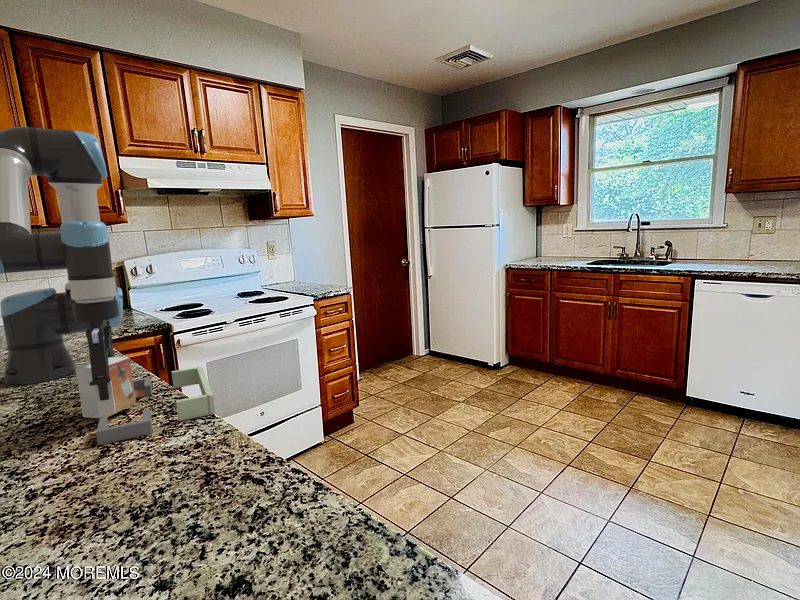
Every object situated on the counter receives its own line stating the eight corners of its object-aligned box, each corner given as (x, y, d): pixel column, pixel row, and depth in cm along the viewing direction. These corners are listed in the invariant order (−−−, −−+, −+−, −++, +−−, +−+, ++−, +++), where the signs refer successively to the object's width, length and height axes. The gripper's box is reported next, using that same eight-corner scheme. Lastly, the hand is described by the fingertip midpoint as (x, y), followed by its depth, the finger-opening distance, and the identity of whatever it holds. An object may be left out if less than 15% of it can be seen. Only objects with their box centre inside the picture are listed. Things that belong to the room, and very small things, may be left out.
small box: (105, 419, 86) (97, 368, 85) (82, 418, 88) (74, 367, 86) (137, 403, 94) (130, 356, 92) (115, 402, 95) (108, 356, 94)
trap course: (111, 394, 103) (108, 378, 103) (202, 377, 113) (200, 363, 112) (98, 445, 78) (94, 424, 77) (217, 418, 87) (215, 400, 87)
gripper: (80, 295, 95) (94, 392, 98) (60, 309, 76) (79, 430, 79) (120, 291, 98) (133, 386, 102) (111, 305, 79) (128, 420, 83)
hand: (109, 405), depth 91 cm, fingers closed on small box, 9 cm apart
